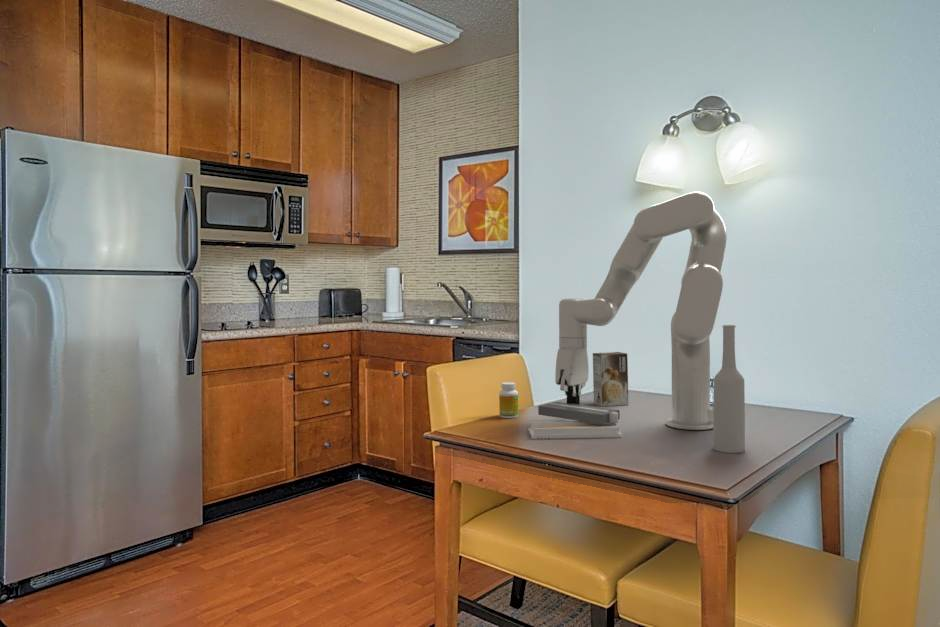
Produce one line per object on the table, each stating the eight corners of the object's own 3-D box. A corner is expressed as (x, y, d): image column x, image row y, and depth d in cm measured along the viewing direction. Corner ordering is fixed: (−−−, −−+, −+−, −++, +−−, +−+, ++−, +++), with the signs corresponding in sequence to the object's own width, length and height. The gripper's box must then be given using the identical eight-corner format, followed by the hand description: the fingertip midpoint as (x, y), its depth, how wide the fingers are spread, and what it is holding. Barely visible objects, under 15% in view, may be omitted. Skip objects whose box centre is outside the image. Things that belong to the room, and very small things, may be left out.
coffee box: (619, 401, 208) (619, 351, 207) (629, 405, 201) (628, 353, 201) (592, 403, 205) (592, 352, 205) (601, 407, 199) (601, 354, 199)
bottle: (732, 444, 151) (732, 324, 149) (751, 451, 144) (751, 325, 143) (707, 447, 149) (707, 325, 148) (725, 454, 143) (725, 326, 141)
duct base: (613, 429, 169) (613, 419, 169) (621, 437, 160) (621, 427, 160) (528, 430, 169) (528, 421, 169) (531, 439, 160) (531, 429, 160)
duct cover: (625, 420, 166) (625, 410, 166) (609, 425, 161) (608, 415, 160) (555, 410, 181) (555, 400, 181) (538, 414, 175) (538, 405, 175)
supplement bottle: (517, 418, 184) (516, 384, 184) (498, 418, 185) (497, 384, 185) (519, 415, 189) (519, 381, 189) (501, 414, 190) (500, 381, 190)
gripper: (576, 340, 187) (576, 404, 188) (545, 345, 176) (546, 412, 177) (599, 342, 182) (599, 407, 182) (568, 346, 171) (569, 416, 172)
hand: (573, 409), depth 180 cm, fingers closed
